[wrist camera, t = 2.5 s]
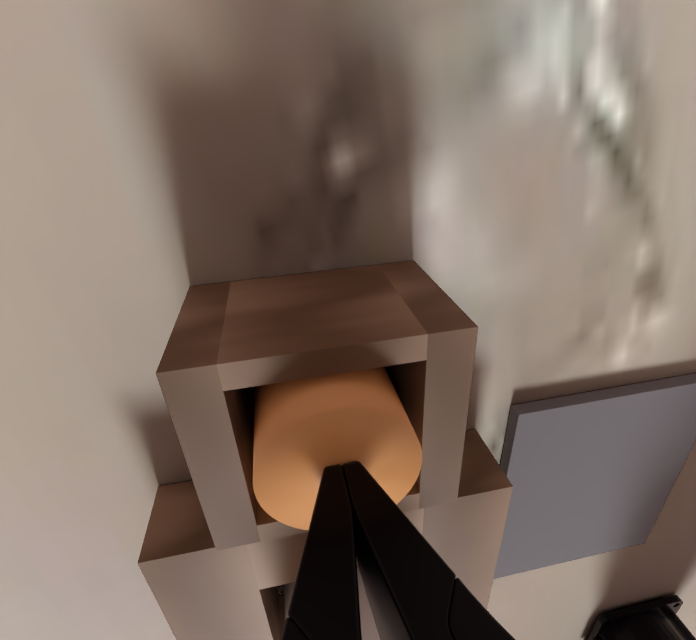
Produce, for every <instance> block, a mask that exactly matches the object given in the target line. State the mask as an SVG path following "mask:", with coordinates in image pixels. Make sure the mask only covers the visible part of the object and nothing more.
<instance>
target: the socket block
mask: <svg viewBox="0 0 696 640" xmlns="http://www.w3.org/2000/svg"><path fill="white" fill-rule="evenodd" d="M477 333H478V326H477V325H476V324H475V323H474V322H473V321H472V320H471V319H470V318H469V317H468V316H467V315H466V314H465V313H464V312H463V311H462V310H461V309H460V308H459V307H458V306H457V305H456V304H455V303H454V301H453V300H452V299H451V298H450V297H449V296H448V295H447V294H446V293H445V292H444V291H443V290H442V289H441V288H440V287H439V286H438V285H437V284H436V283H435V282H434V281H433V280H432V279H431V278H430V277H429V276H428V275H427V274H426V273H425V272H424V271H423V270H422V268H421V267H420V266H419V265H418V264H417V263H416V262H415V261H414V260H413V261H404V262H396V263H387V264H379V265H370V266H361V267H353V268H344V269H336V270H327V271H318V272H310V273H301V274H293V275H284V276H275V277H267V278H258V279H250V280H241V281H232V282H224V283H215V284H207V285H198V286H190V287H189V290H188V292H187V295H186V297H185V300H184V303H183V305H182V308H181V310H180V313H179V315H178V318H177V321H176V323H175V326H174V328H173V331H172V333H171V336H170V338H169V341H168V344H167V346H166V349H165V351H164V354H163V356H162V359H161V361H160V364H159V367H158V369H157V372H156V375H157V378H158V381H159V384H160V387H161V390H162V393H163V396H164V398H165V401H166V404H167V407H168V410H169V413H170V416H171V419H172V422H173V425H174V428H175V431H176V434H177V436H178V439H179V442H180V445H181V448H182V451H183V454H184V457H185V460H186V463H187V466H188V469H189V472H190V475H191V477H192V480H191V481H186V482H180V483H175V484H169V485H164V486H158V490H157V493H156V497H155V501H154V505H153V508H152V512H151V516H150V519H149V523H148V527H147V531H146V534H145V538H144V542H143V545H142V549H141V553H140V557H139V560H138V565H139V567H140V569H141V571H142V573H143V575H144V577H145V579H146V581H147V583H148V585H149V587H150V588H151V590H152V592H153V594H154V596H155V598H156V600H157V602H158V604H159V606H160V608H161V610H162V612H163V614H164V616H165V618H166V620H167V622H168V624H169V626H170V628H171V630H172V632H173V634H174V636H175V638H176V639H177V640H281V637H282V633H283V629H284V625H285V600H284V595H282V596H278V592H277V588H276V586H279V585H283V584H288V583H292V582H296V578H297V574H298V570H299V566H300V562H301V558H302V554H303V550H304V546H305V542H306V538H307V534H308V530H302V529H297V528H294V527H291V526H287V525H285V524H283V523H281V522H279V521H277V520H276V519H274V518H272V517H271V516H270V515H269V514H268V513H266V512H265V511H264V509H263V508H262V507H261V506H260V504H259V502H258V501H257V499H256V496H255V493H254V489H253V449H254V405H255V398H254V393H253V388H252V387H254V386H260V385H267V384H274V383H280V382H287V381H293V380H300V379H306V378H313V377H319V376H326V375H332V374H339V373H346V372H352V371H359V370H365V369H372V368H378V367H385V369H386V371H387V373H388V376H389V378H390V380H391V382H392V384H393V386H394V388H395V391H396V393H397V395H398V397H399V399H400V401H401V403H402V406H403V408H404V410H405V412H406V414H407V416H408V418H409V421H410V423H411V425H412V427H413V429H414V431H415V433H416V436H417V438H418V440H419V442H420V445H421V449H422V465H421V470H420V473H419V476H418V478H417V480H416V482H415V484H414V485H413V487H412V488H411V490H410V491H409V492H408V493H407V495H406V496H405V497H404V498H403V499H402V500H401V501H400V502H399V503H398V504H396V505H397V506H398V507H399V508H400V510H401V511H402V512H403V513H404V514H405V515H406V517H407V518H408V519H409V520H410V521H411V523H412V524H413V525H414V526H415V527H416V528H417V530H418V531H419V532H420V533H421V534H422V536H423V537H424V538H425V539H426V540H427V541H428V543H429V544H430V545H431V546H432V547H433V548H434V550H435V551H436V552H437V553H438V554H439V556H440V557H441V558H442V559H443V560H444V561H445V563H446V564H447V565H448V566H449V567H450V569H451V570H452V571H453V572H454V573H455V575H456V578H459V579H460V580H461V581H462V582H463V584H464V585H465V586H466V587H467V588H468V590H469V591H470V592H471V593H472V594H473V595H474V597H475V598H476V599H477V600H478V601H479V602H480V603H481V604H482V605H483V607H484V608H485V609H486V610H487V605H488V601H489V596H490V592H491V587H492V582H493V578H494V573H495V568H496V564H497V559H498V554H499V550H500V545H501V540H502V536H503V531H504V527H505V522H506V517H507V513H508V508H509V503H510V499H511V494H512V489H513V485H512V484H511V482H510V481H509V479H508V478H507V476H506V475H505V473H504V472H503V470H502V469H501V467H500V466H499V464H498V463H497V461H496V460H495V458H494V457H493V455H492V454H491V452H490V450H489V449H488V447H487V446H486V444H485V443H484V441H483V440H482V438H481V437H480V435H479V434H478V432H477V431H476V429H473V430H468V431H466V424H467V415H468V407H469V399H470V391H471V382H472V374H473V366H474V357H475V349H476V341H477ZM356 560H357V559H356ZM357 568H359V567H358V563H357Z"/></svg>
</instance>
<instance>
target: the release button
mask: <svg viewBox="0 0 696 640" xmlns="http://www.w3.org/2000/svg"><path fill="white" fill-rule="evenodd" d="M353 461H359V462H360V463H361V464H362V465H363V466H364V467H365V468H366V469H367V471H368V472H369V473H370V474H371V475H372V476H373V478H374V479H375V480H376V481H377V482H378V484H379V485H380V486H381V487H382V488H383V489H384V491H385V492H386V493H387V494H388V495H389V497H390V498H391V499H392V500H393V501H394V502H395V504H398V503H399V502H400V501H401V500H402V499H403V498H404V497H405V496H406V495H407V493H408V492H409V491H410V490H411V488H412V487H413V485H414V484H415V482H416V480H417V478H418V476H419V473H420V470H421V465H422V449H421V445H420V442H419V440H418V438H417V436H416V433H415V431H414V429H413V427H412V425H411V423H410V421H409V418H408V416H407V414H406V412H405V410H404V408H403V406H402V403H401V401H400V399H399V397H398V395H397V393H396V391H395V388H394V386H393V384H392V382H391V380H390V378H389V376H388V373H387V371H386V369H385V367H378V368H372V369H365V370H359V371H352V372H346V373H339V374H332V375H326V376H319V377H313V378H306V379H300V380H293V381H287V382H280V383H274V384H267V385H260V386H255V405H254V449H253V489H254V493H255V496H256V499H257V501H258V502H259V504H260V506H261V507H262V508H263V509H264V511H265V512H266V513H268V514H269V515H270V516H271V517H272V518H274V519H276V520H277V521H279V522H281V523H283V524H285V525H287V526H291V527H294V528H297V529H302V530H309V526H310V522H311V518H312V514H313V510H314V506H315V502H316V498H317V494H318V489H319V485H320V481H321V477H322V473H323V470H324V468H325V467H326V466H331V465H336V464H340V465H341V466H342V465H343V464H344V463H347V462H353Z"/></svg>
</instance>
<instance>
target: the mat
mask: <svg viewBox="0 0 696 640" xmlns="http://www.w3.org/2000/svg"><path fill="white" fill-rule="evenodd" d="M695 441H696V373H694V374H688V375H682V376H677V377H671V378H665V379H660V380H654V381H648V382H642V383H637V384H631V385H625V386H619V387H614V388H608V389H602V390H597V391H591V392H585V393H579V394H574V395H568V396H562V397H556V398H551V399H545V400H539V401H533V402H528V403H522V404H516V405H511V409H510V414H509V420H508V425H507V430H506V436H505V441H504V447H503V452H502V457H501V463H500V467H501V469H502V470H503V472H504V473H505V475H506V476H507V478H508V479H509V481H510V482H511V484H512V485H513V489H512V494H511V499H510V503H509V508H508V513H507V517H506V522H505V527H504V531H503V536H502V540H501V545H500V550H499V554H498V559H497V564H496V568H495V573H494V578H493V579H496V578H500V577H504V576H508V575H512V574H517V573H521V572H525V571H529V570H533V569H538V568H542V567H546V566H550V565H554V564H559V563H563V562H567V561H571V560H576V559H580V558H584V557H588V556H592V555H597V554H601V553H605V552H609V551H613V550H618V549H622V548H626V547H630V546H634V545H639V544H643V543H645V542H646V540H647V538H648V536H649V534H650V532H651V530H652V528H653V526H654V524H655V522H656V520H657V518H658V516H659V514H660V512H661V510H662V508H663V506H664V504H665V502H666V500H667V497H668V495H669V493H670V491H671V489H672V487H673V485H674V483H675V481H676V479H677V477H678V475H679V473H680V471H681V469H682V467H683V465H684V463H685V461H686V459H687V457H688V455H689V453H690V451H691V449H692V447H693V445H694V443H695Z"/></svg>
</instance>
